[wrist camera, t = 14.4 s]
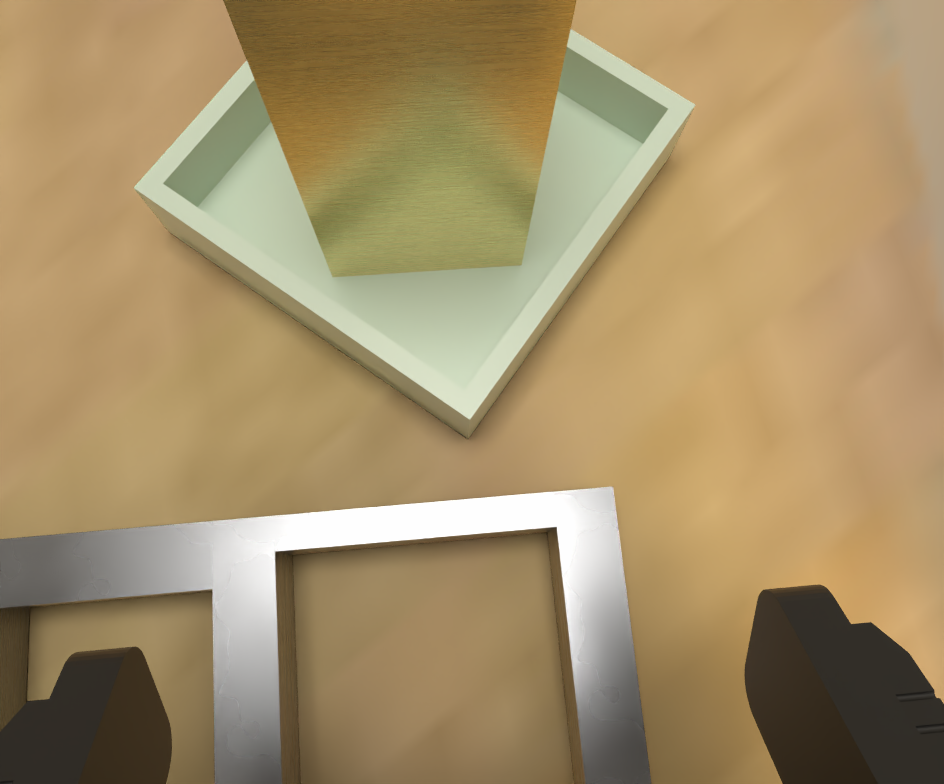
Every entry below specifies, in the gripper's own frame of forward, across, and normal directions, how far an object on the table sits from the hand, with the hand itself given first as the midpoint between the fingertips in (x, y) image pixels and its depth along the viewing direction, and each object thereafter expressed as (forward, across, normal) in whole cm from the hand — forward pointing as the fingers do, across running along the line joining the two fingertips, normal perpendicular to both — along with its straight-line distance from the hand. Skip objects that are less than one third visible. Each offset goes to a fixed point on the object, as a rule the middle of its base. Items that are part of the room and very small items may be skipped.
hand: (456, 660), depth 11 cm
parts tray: (+15, 0, -2) cm, 15 cm away
